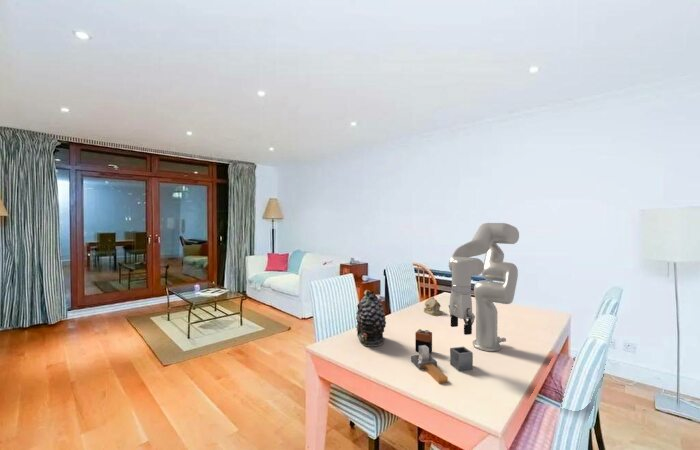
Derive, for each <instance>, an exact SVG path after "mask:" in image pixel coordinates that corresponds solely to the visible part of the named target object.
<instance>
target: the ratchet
mask: <svg viewBox="0 0 700 450" xmlns="http://www.w3.org/2000/svg"><path fill="white" fill-rule="evenodd" d="M410 361H411V364H413V365H414V366H415V367H416V368H417V369H418V371H422V370H424V371H426V372H427V374H428V375H430V376H431V378H433V379H434V380H435V382H437V383H438V384H439V385H440V384H446V383H448V381H449V380H448V376H447V375H446V374H444V372H442V370H440V369H439V368H438V361H437V360H436V359H435V358H434V357H432V356H431V355H430V354H429V348H428V347H427V346H426V345H422V346H419V352H418V354H415V355H411V356H410Z"/></svg>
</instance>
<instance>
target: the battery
mask: <svg viewBox="0 0 700 450" xmlns="http://www.w3.org/2000/svg"><path fill="white" fill-rule="evenodd" d="M414 335H415V339H414V340H415V342H414V343H415V348H414V349H415V352H417V353H419V346H422V345H426V346H427V347H428V348H429V355H430V354H431V353H432V352H433V332H432V331H430V330H429V329H425V330H422V329H421V328H419V329H418V330H417V331H415V333H414Z"/></svg>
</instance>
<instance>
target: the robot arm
mask: <svg viewBox="0 0 700 450" xmlns="http://www.w3.org/2000/svg"><path fill="white" fill-rule="evenodd" d="M519 238H520V231H519V230H518V228H517V227H516V226H515V225H511V224H510V223H505V222H484V223H482V224H481V225H479V227H478V229H477V230H476V232H475V233H474V236H473V238H472V239H471V240H470V241H468V242H466V243H464V244H462V245H460V246H458V247H457V248H456V249H455V250H454V251H453V253H452V255H451V257H450V259H449V260H448V268H449V271H450V272H451V290H450V291H451V292H450V296H449V305H448V308H449V316H450V327H451V328H455V327H456V328H457V327H458V326H459V319H460V320H463V322H464V323H463V334H464V336H466V335H467V336H469V335H472V334H473V333H472V332H473V327H472V326H473V325H474V322H475V339H474V340H472V347H474V348H476V349H478V350H481V351H485V352H498V351H500V350H501V348H502V345H501V343H504V342H505V343H506V342H507V338H506V337H500V336H498V308H497V307H496V305H495V303H496V304H502V305H511V304H512V303H513V301H514V298H515V294H516V287H517V283H518V277H519V272H518V271H519V270H518V267H517V265H516V264H515V263H513V262H508V261H507V262H506V261H504V259H505V253H504V251H503V249H502V248H501V247H500V246H499V245H501V244H504V245H505V244H506V245H515V244H517V243H518V241H519ZM498 244H499V245H498ZM484 254H485V255H484ZM481 255H484V256H485V257H484V261H482V260H481V259H480V258H479V257H478V256H481ZM477 257H478V258H477ZM479 275H481V276H482V278H484V279H485V280H479V281H476V282H475V283H474V287H473V293H474V298H475V299H474V300H475V314H474V312H473V301H472V277H473V276H475V277H476V276H479Z"/></svg>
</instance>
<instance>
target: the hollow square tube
mask: <svg viewBox="0 0 700 450" xmlns="http://www.w3.org/2000/svg"><path fill="white" fill-rule="evenodd" d="M449 350H450V351H449V353H450V354H449V355H450V356H449V364H450V365H449V366H452V368H454V369H455V370H456V371H457V372H464V371H471V370H473V367H474V366H473V364H474V362H473V361H474V360H473V358H474V356H473V355H474V354H473V351H471V350H469V349H468V348H467V347H465V346H457V347H456V346H455V347H450V348H449Z"/></svg>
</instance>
